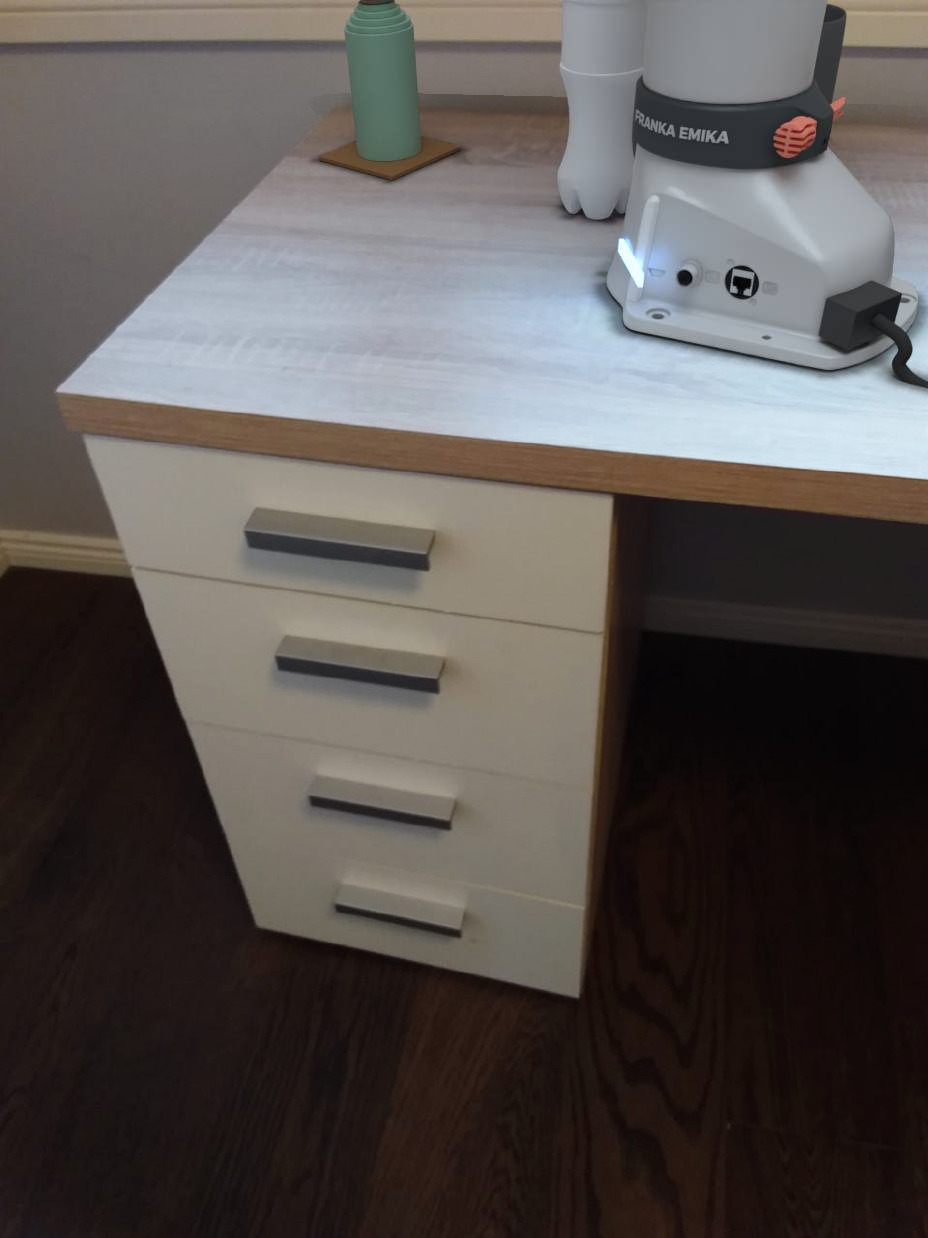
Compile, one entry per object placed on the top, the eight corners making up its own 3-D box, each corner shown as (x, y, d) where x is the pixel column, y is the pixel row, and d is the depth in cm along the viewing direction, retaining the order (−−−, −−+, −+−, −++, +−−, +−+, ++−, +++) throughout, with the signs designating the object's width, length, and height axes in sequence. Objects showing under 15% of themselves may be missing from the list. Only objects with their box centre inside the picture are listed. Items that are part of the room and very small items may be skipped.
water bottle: (638, 192, 91) (663, -156, 74) (640, 224, 86) (668, -143, 69) (557, 193, 92) (564, -152, 75) (555, 224, 87) (562, -139, 70)
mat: (460, 149, 101) (460, 145, 101) (392, 180, 96) (392, 175, 96) (387, 132, 106) (387, 128, 106) (319, 160, 101) (318, 156, 101)
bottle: (434, 147, 101) (424, -31, 91) (391, 166, 98) (375, -17, 87) (388, 135, 104) (373, -38, 94) (344, 153, 101) (323, -25, 91)
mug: (839, 151, 97) (867, 7, 88) (790, 180, 92) (815, 30, 84) (715, 125, 104) (731, -11, 95) (664, 150, 99) (676, 9, 91)
